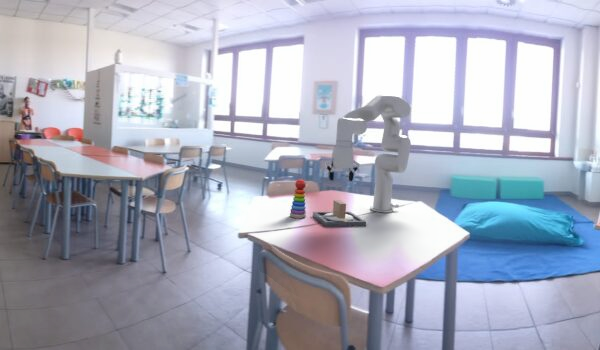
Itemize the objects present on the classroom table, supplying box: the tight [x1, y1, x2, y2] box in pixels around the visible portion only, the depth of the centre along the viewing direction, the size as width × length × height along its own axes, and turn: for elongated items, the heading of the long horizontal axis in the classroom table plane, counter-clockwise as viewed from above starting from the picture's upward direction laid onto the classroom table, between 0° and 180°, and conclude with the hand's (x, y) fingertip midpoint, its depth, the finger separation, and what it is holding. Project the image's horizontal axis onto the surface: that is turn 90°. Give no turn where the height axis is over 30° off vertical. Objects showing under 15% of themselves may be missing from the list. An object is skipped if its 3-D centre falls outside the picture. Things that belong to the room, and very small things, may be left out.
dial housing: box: [312, 211, 367, 228], centre depth 191 cm, size 20×20×2 cm
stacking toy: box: [289, 178, 307, 219], centre depth 193 cm, size 8×8×19 cm
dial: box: [324, 199, 353, 221], centre depth 190 cm, size 14×14×8 cm
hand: (341, 180), depth 188 cm, fingers open, 9 cm apart
